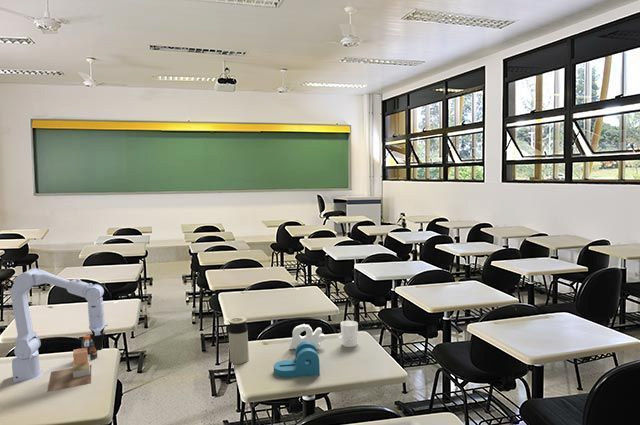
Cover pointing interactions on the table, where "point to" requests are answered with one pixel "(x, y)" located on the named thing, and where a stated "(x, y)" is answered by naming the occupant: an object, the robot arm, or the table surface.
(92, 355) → the pill bottle
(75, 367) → the slab top
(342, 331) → the white cup
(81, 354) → the block
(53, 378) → the board
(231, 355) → the travel mug
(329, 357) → the table surface
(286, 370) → the camera mount
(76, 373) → the slab bottom
